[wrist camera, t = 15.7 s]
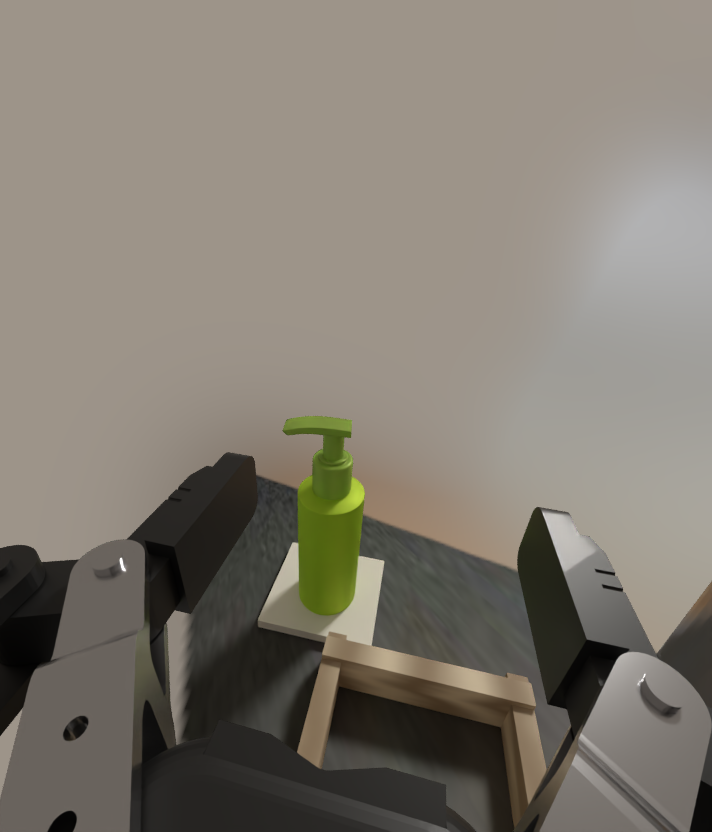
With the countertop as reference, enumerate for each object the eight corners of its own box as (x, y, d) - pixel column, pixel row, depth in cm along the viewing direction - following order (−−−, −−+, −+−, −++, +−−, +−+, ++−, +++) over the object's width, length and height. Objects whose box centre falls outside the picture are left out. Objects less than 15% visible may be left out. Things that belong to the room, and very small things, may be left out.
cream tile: (383, 567, 43) (384, 561, 43) (370, 653, 34) (371, 647, 34) (292, 548, 44) (292, 542, 44) (258, 626, 36) (257, 620, 35)
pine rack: (515, 700, 32) (529, 674, 30) (580, 1076, 18) (613, 1070, 16) (327, 654, 34) (329, 627, 32) (251, 955, 20) (246, 938, 18)
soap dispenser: (293, 564, 41) (290, 403, 32) (355, 567, 41) (370, 408, 32) (284, 613, 36) (277, 439, 27) (354, 617, 36) (372, 444, 27)
